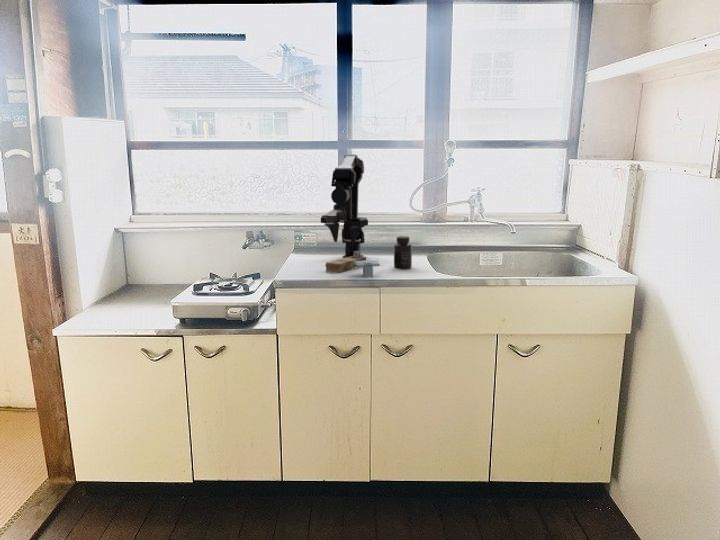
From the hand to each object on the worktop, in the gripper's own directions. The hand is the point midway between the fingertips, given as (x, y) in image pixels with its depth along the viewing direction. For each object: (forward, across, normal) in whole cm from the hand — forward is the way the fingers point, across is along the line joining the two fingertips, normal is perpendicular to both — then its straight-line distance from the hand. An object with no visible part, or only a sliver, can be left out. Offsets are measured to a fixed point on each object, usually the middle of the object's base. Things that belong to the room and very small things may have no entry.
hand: (344, 243), depth 199 cm
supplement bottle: (+10, +17, +15) cm, 25 cm away
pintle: (+10, 0, +8) cm, 13 cm away
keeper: (+10, +13, -3) cm, 16 cm away
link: (+10, 0, +2) cm, 10 cm away
